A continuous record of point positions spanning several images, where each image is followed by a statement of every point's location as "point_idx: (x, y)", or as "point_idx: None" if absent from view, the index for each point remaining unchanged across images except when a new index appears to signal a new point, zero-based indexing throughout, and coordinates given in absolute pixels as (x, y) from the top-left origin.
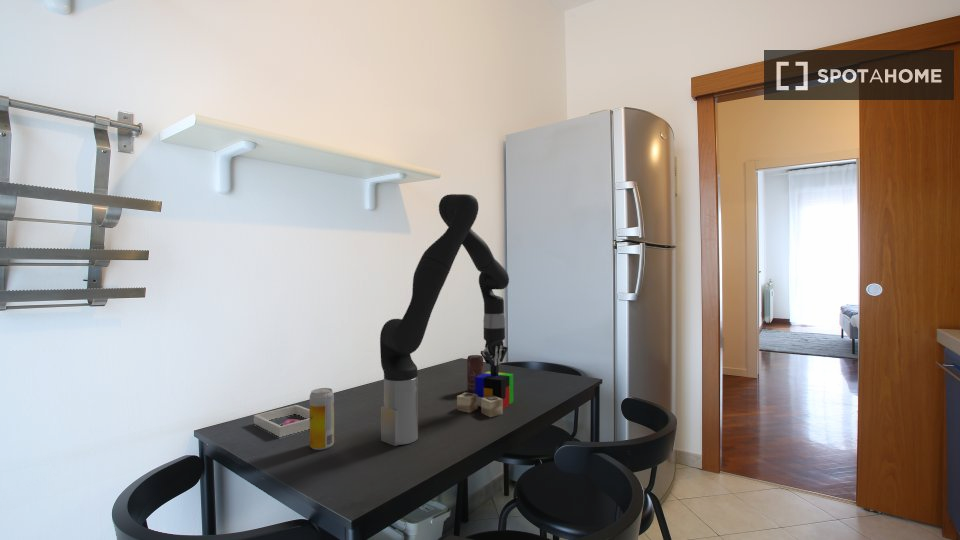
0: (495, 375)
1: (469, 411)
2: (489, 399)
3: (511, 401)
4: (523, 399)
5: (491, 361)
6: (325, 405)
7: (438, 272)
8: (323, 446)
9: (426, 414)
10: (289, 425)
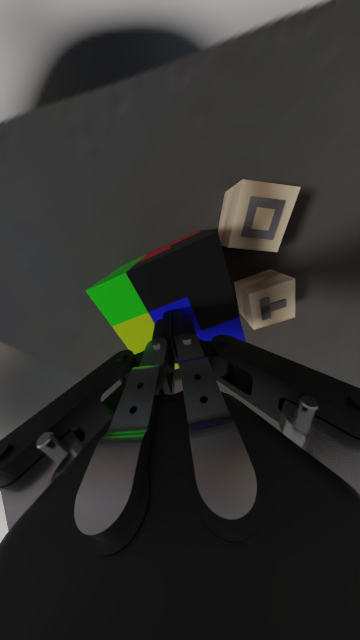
0: (181, 311)
1: (272, 270)
2: (281, 211)
3: (133, 260)
4: (82, 264)
5: (239, 346)
6: None
7: None
8: None
9: (325, 321)
10: None
